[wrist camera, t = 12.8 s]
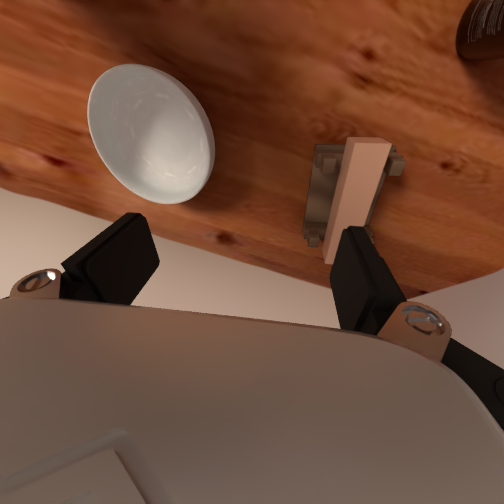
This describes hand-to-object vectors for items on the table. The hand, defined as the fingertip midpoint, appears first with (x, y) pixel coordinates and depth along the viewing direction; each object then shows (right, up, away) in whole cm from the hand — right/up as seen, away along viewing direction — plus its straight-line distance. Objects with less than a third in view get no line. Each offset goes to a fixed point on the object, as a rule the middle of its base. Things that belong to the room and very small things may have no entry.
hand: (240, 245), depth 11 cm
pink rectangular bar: (+15, +7, +23) cm, 28 cm away
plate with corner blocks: (+16, +9, +26) cm, 32 cm away
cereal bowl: (-12, +18, +24) cm, 33 cm away
